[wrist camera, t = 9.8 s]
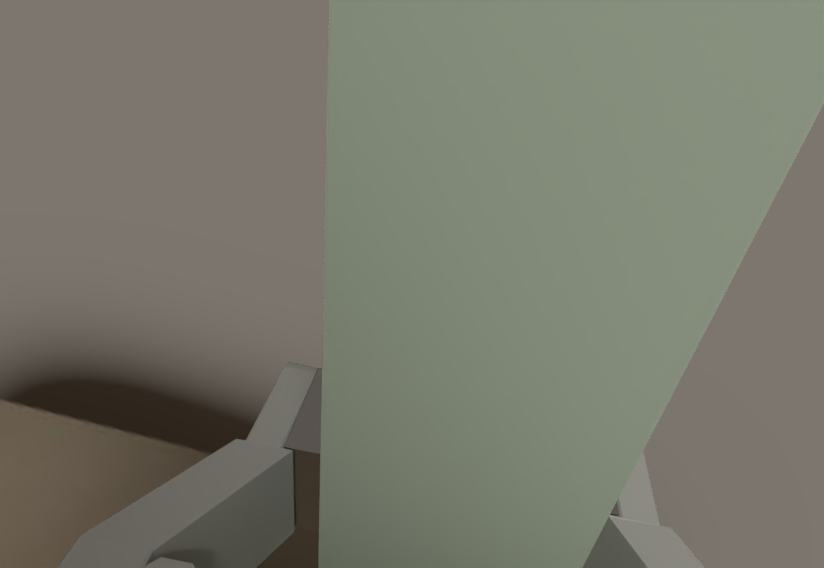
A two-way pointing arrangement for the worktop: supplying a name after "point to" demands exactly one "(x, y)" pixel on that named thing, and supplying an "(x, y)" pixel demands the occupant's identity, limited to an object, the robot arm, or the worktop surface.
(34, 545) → the worktop surface
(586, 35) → the sage green plank
